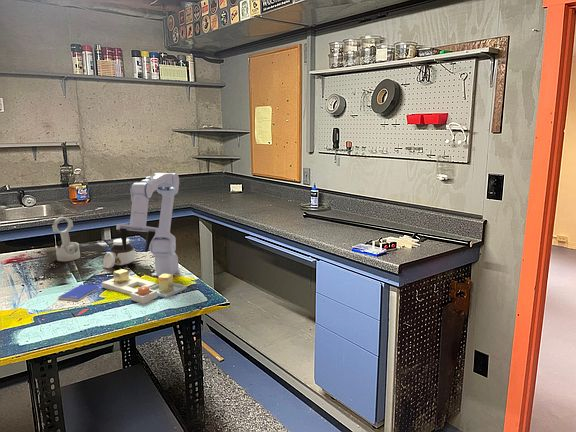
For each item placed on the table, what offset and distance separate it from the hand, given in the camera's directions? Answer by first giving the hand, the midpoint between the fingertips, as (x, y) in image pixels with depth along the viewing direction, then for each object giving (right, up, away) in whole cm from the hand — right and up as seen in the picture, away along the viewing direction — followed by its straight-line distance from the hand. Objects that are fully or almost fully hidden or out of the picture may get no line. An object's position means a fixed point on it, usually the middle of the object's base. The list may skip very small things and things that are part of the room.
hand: (135, 250), depth 158 cm
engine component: (-50, -8, +50) cm, 71 cm away
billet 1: (-11, -15, +17) cm, 25 cm away
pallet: (-7, -16, +14) cm, 23 cm away
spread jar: (-21, -10, +40) cm, 46 cm away
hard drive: (-25, -18, +9) cm, 32 cm away
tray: (+8, -17, +11) cm, 21 cm away
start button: (+2, -17, +2) cm, 17 cm away
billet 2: (+8, -16, +11) cm, 21 cm away
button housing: (+2, -18, +3) cm, 19 cm away
